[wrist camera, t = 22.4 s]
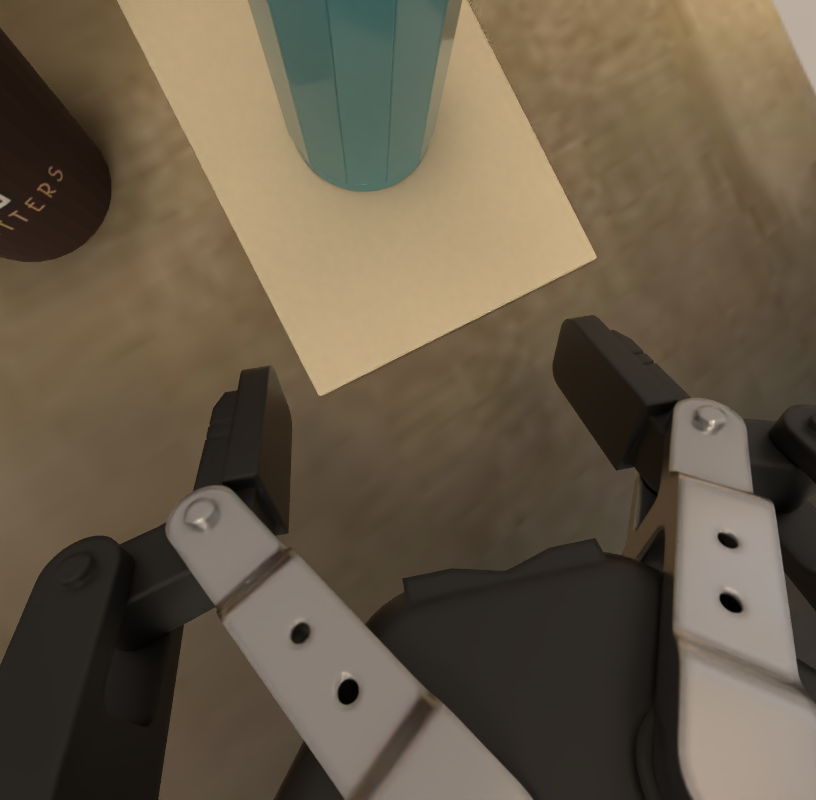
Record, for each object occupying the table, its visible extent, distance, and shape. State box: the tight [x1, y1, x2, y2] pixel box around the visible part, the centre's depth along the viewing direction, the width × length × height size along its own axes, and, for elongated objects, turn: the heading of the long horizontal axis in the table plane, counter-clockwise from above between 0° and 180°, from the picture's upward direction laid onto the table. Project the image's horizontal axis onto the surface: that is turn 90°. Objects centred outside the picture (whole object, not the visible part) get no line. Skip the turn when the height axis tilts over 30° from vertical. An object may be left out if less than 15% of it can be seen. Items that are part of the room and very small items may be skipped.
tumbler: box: [248, 0, 462, 192], centre depth 13 cm, size 6×6×10 cm
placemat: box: [117, 0, 597, 396], centre depth 18 cm, size 20×14×1 cm
